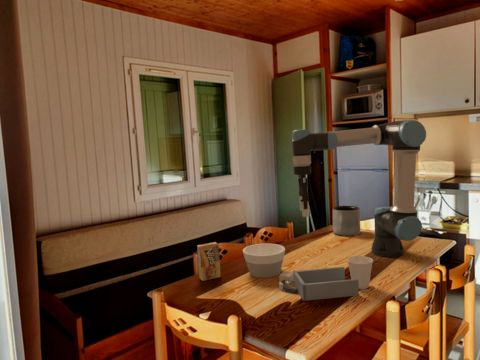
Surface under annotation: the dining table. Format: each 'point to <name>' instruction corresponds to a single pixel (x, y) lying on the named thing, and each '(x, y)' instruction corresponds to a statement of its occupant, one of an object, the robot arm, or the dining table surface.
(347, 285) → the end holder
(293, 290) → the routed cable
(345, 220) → the planter
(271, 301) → the dining table surface
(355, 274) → the cup
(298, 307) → the dining table surface
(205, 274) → the candy box
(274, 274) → the bowl
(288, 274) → the clamp and clip
